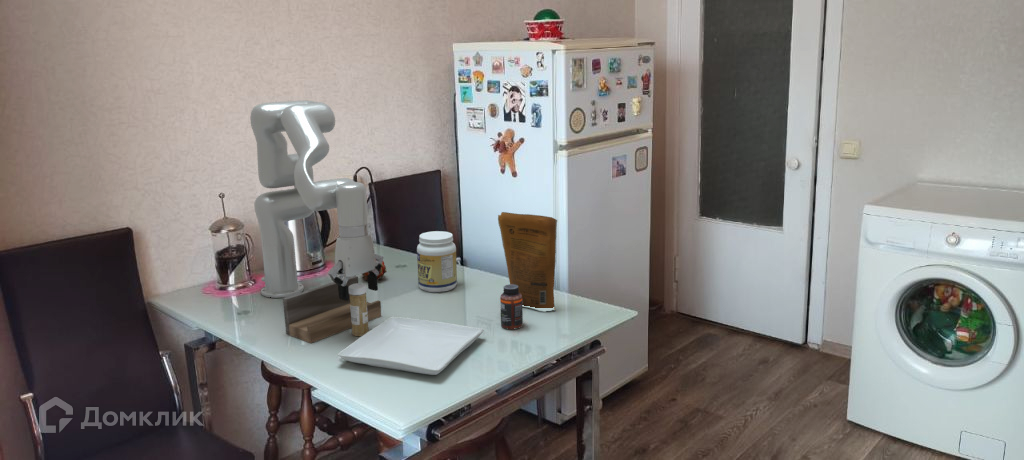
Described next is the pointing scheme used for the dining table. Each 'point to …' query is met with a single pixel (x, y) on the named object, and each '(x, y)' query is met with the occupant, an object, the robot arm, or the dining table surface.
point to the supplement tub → (436, 261)
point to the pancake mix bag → (530, 256)
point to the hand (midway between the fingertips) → (358, 294)
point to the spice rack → (321, 312)
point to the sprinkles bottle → (358, 309)
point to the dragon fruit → (381, 272)
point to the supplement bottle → (511, 307)
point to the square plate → (411, 345)
